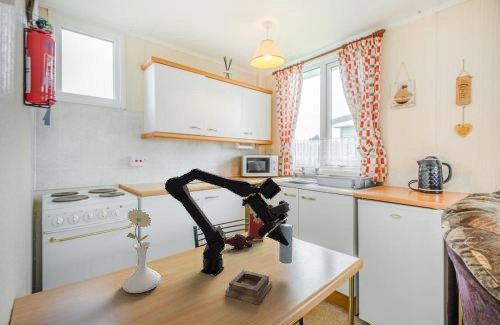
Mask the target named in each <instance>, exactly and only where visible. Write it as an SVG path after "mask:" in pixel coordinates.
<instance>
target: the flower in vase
mask: <svg viewBox="0 0 500 325" xmlns="http://www.w3.org/2000/svg"><path fill="white" fill-rule="evenodd" d="M149 216H150V214H148V213H147V212H145V211H143V210H142V209H139V210H138V209H137V208H134V209H132V210H129V211H128V212H127V219H129V221H130V222H131V223H132V224H133V225H134V226H135V228H134V233H132V232H128V234H127V235H126V238H130V239H132V240H135V239H136V240H137V243H134V244H133V248H134V249H135V251H136V253H137V260H138V261H137V262H138V265H137V267H136V269H135V270H134V271H133V272H132V273H131V274H129V275H128V276H127V277H126V278H125V279H124V280H123V283H122V285H121V286H122V289H123V290H124V291H125V292H126V293H130V294H140V293H145V292H149V291H150V290H152V289H154V288H156V287H157V286H158V285H160V282H161V281H162V276H161V274H160V273H158V272H157V271H156V270H154V269H152V268H150V267H149V266H148V265H147V253H148V249H149V247H150V246H151V242H150V241H144V240H145V239H147V238H148V237H149V234H147V235H144V236H142V237H141V238H140V239H139V238H138V236H137V233H136V232H137V227H139V228H145V227H150V226H151V223H152V222H151V221H152V220H151V219H152V218H151V217H149Z"/></svg>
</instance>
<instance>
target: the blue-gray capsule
mask: <svg viewBox="0 0 500 325" xmlns="http://www.w3.org/2000/svg"><path fill="white" fill-rule="evenodd" d="M280 230H281V232H282V234H283V235H284V237H285V238H286V240H287V241H288V243H289V245H288V246H285V245H283V244H281V243H279V259H278V261H279V262H280V263H281V264H285V265H288V264H291V263H292V261H293V235H294V234H293V225H292V224H290V223H286V224H281V225H280Z"/></svg>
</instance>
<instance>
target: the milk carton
mask: <svg viewBox="0 0 500 325" xmlns="http://www.w3.org/2000/svg"><path fill="white" fill-rule="evenodd" d="M248 206H249V205H248ZM255 216H256V214H255V212H254V211H253V210H252V209H251V207H250V206H249V219H248V228H247V236H246V237H248V236H253V237H254V239H253V240H252V241H257V240H265V237H262V238H260V237H259V236H258V234H257V230H258V229H260V228H261V227H262V226H263V225H264V224H263V222H262V221H261V220H260V219H259V218H256V217H255Z"/></svg>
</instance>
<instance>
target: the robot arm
mask: <svg viewBox="0 0 500 325" xmlns="http://www.w3.org/2000/svg"><path fill="white" fill-rule="evenodd" d="M194 181H200V182H202V183H206V184H208V185H209V184H210V185H212V186H215V187H218V188H222V189H226V190H228V191H230V192H231V193H232V194H235V195H237V196H239V197H241V198H243V199H242V200H241V202H242V203H241V206H242V207H246V206H250V207H251V209H252V210H253V211H254V212H255V214H256V216H255V217H256V218H259V219H260V220H261V221H262V222H263V224H264V225H263V226H262V227H261V228H260V229H258V230H257V234H258V236H259V237H260V238H262V237H264V236H265V237H266V238H269V239H271V240H272V241H276V242H278V243H279V244H280V243H281V244H283V245H285V246H288V245H289V243H288V241H287V240H286V238H285V237H284V235H283V234H282V232H281V230H280V225H281V224H287V221H288V219H287V218H288V216H289V214H288V212H289V211H291V209H290V207H289V206H290V203H288V202H287V201H285V199H283V200H280V201H279V202H278V204H277V205H275V206H273V204H268V202H267V201H266V200H272V199H274V197H276V196H277V195H279V193H280V192H282V188H281V187H280V186H279V184H278V183H277V182H275V181H274V180H273V178H272V177H270V176H268V177H267V178H266V179H265V180H264V181H263V182H261V184H260V185H257V184H253V183H250V181H249V180H247V179H239V178H228V177H226V176H222V175H218V174H216V173H213V172H209V171H205V170H202V169H200V168H197V167H196V168H192V169H191V170H190V171H188V172H186V173H184V174H182V175H180V176H177V175H176V176H174V177H170V178H168V179H167V180H166V181H165V183H164V190H165V192H167V193H168V194H169V195H170V196H171V197H172V198H174V199H175V201H178V202H180V204H181V206H183V208H184V209H185V210H186V212H187V214H188V215H189V216H190V218H191V219H192V220H193V221H194V222H195V224H196V225H197V227H198V228H199V230H201V233H202V234H203V236H204V239H205V241H206V242H205V243H206V245H205V247H204V250H203V252H202V256H203V257H202V269H201V270H200V273H202V274H206V275H210V276H216V275H218V274H219V273H220V272H222V271H223V270H224V269H225V266H224V258H223V254H222V252H223V251H224V249H225V248H226V244H225V243H226V239H227V235H226V232H225V231H223V229H222V228H221V226H220V225H218V226H217V227H216V226H215V225H214V224H213V223H212V222H211V220H209V218H208V217H207V215H206V214H205V212H204V211H203V210H202V208H201V207H200V206H199V205H198V203H197V202H196V201H195V199H194V198H193V196H192V195H191V192H190V189H189V187H188V184H190V183H192V182H194ZM262 196H263V197H262ZM250 207H249V208H250ZM265 237H264V238H265Z"/></svg>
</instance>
